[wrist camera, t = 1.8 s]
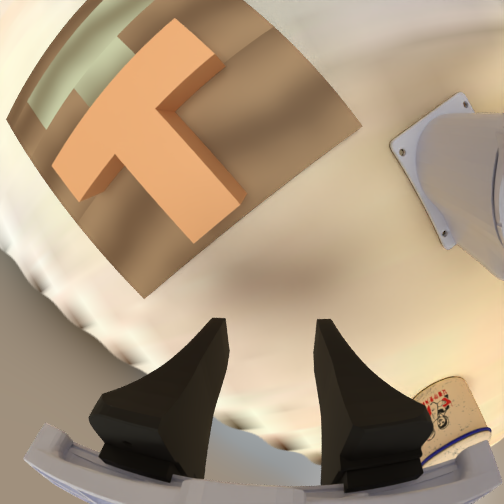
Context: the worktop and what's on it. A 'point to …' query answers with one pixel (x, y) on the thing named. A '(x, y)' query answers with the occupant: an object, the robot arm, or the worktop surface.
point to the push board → (191, 112)
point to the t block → (154, 135)
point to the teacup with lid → (451, 421)
